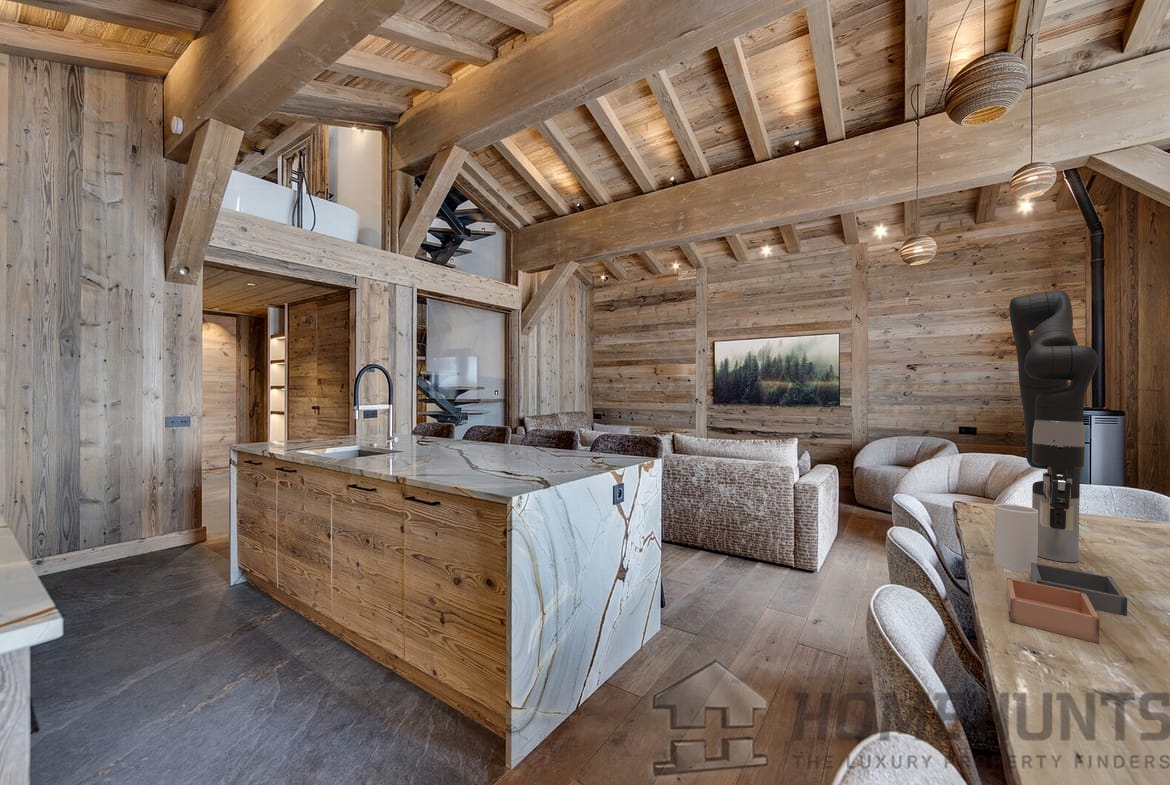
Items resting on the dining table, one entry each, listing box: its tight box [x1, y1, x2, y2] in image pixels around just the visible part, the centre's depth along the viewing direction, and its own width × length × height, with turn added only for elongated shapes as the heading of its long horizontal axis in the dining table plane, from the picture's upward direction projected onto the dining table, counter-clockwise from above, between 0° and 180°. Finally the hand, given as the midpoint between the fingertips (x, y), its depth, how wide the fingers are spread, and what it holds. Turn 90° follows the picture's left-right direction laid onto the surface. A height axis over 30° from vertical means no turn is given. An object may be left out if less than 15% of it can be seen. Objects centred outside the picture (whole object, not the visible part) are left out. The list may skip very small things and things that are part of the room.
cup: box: [993, 503, 1039, 573], centre depth 119 cm, size 8×8×16 cm
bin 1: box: [1006, 577, 1101, 644], centre depth 94 cm, size 14×12×4 cm
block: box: [1040, 499, 1074, 531], centre depth 96 cm, size 4×4×5 cm
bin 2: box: [1030, 562, 1128, 617], centre depth 103 cm, size 14×13×4 cm
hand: (1055, 525), depth 95 cm, fingers closed on block, 4 cm apart
